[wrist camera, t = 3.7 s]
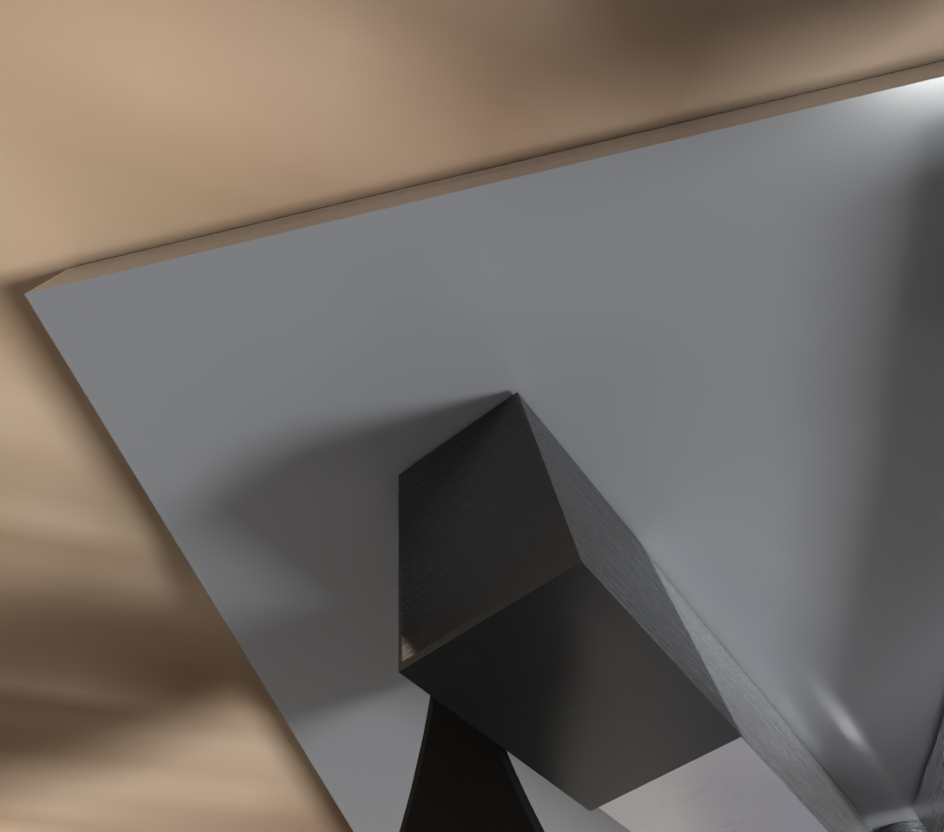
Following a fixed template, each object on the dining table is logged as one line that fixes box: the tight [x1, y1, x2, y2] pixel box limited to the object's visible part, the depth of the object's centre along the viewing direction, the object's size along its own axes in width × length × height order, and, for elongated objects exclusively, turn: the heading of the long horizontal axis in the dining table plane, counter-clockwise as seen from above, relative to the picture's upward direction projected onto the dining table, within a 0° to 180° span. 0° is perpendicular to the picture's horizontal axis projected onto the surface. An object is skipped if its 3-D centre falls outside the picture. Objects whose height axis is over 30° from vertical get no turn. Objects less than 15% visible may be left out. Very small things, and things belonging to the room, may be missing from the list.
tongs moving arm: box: [398, 392, 873, 832], centre depth 12 cm, size 18×2×4 cm, turn 37°
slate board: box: [24, 61, 944, 832], centre depth 14 cm, size 23×19×1 cm
